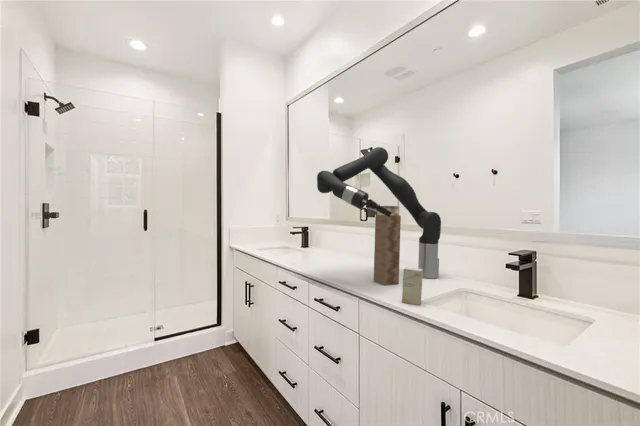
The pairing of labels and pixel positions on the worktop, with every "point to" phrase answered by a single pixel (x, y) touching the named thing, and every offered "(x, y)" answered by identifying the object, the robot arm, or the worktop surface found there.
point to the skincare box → (412, 285)
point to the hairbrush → (392, 209)
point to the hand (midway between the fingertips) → (388, 213)
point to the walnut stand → (387, 249)
